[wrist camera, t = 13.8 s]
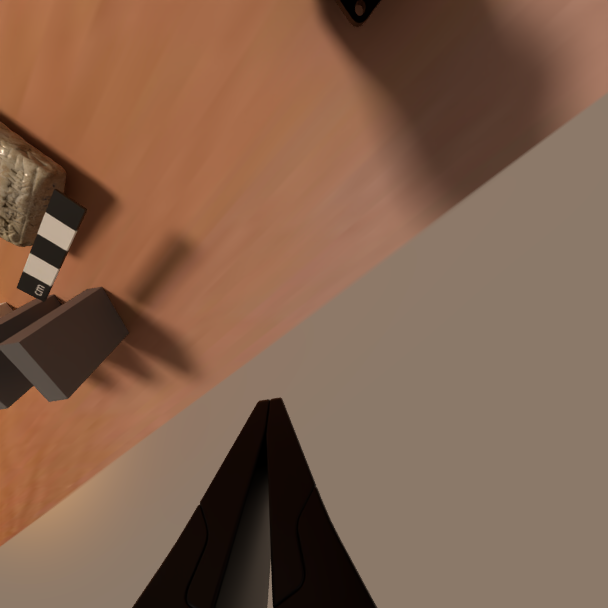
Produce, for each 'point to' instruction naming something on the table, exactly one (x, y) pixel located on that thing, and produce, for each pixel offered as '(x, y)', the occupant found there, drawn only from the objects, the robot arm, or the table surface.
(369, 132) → the table surface
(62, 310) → the domino
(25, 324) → the domino
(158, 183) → the table surface
